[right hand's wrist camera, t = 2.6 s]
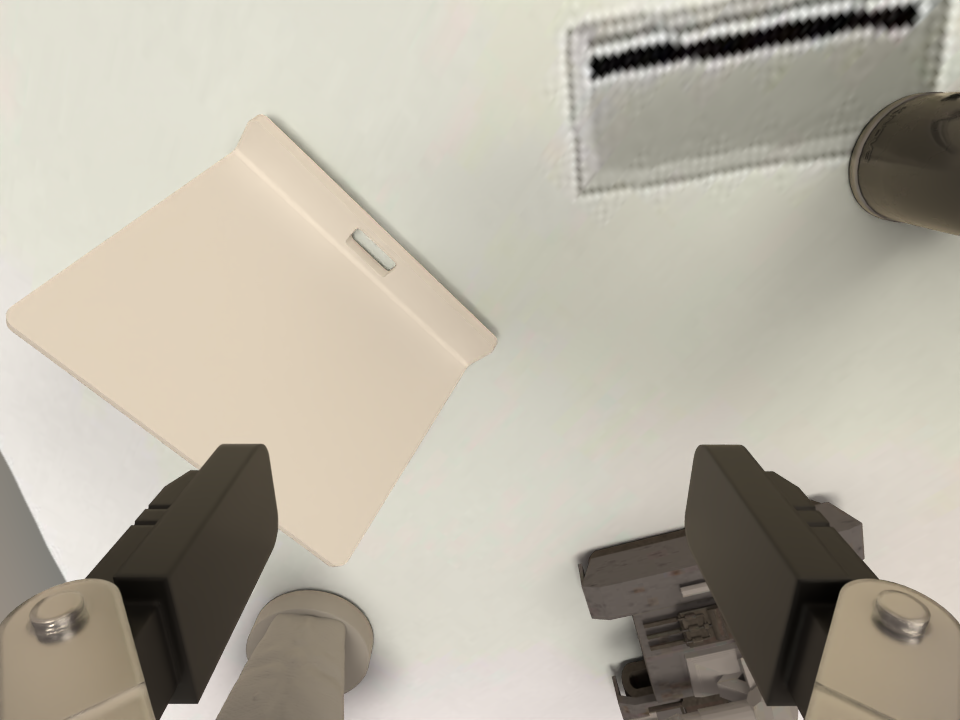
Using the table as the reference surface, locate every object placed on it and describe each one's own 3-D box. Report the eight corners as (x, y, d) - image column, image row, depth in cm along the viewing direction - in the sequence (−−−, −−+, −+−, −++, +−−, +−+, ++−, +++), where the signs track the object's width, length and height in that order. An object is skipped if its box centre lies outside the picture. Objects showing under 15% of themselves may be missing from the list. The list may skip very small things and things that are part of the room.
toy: (831, 490, 57) (943, 608, 43) (846, 641, 64) (947, 783, 50) (574, 552, 60) (602, 682, 46) (615, 690, 67) (651, 839, 53)
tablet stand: (363, 460, 56) (317, 593, 40) (135, 276, 50) (-26, 348, 34) (501, 332, 51) (510, 425, 36) (269, 109, 45) (155, 102, 29)
